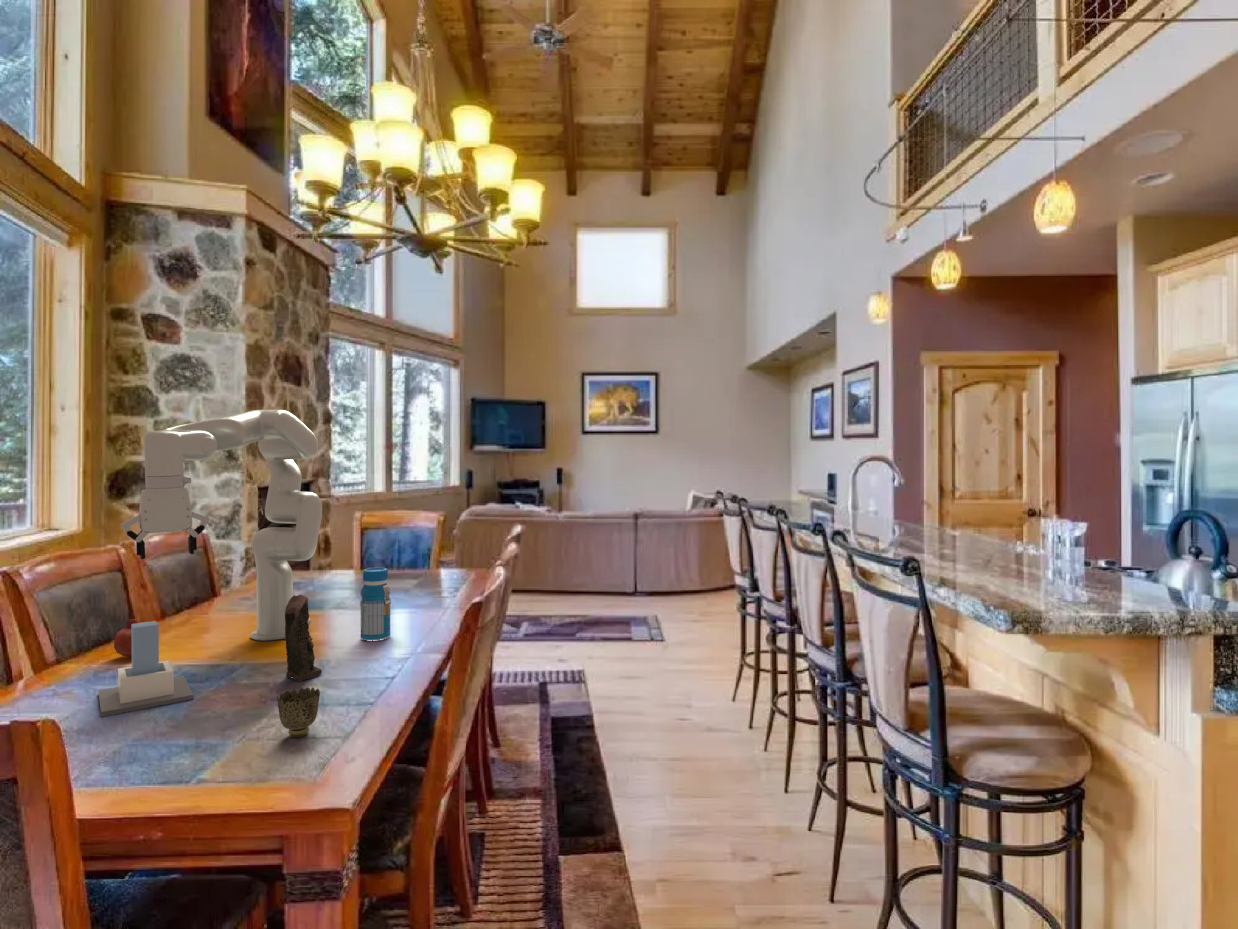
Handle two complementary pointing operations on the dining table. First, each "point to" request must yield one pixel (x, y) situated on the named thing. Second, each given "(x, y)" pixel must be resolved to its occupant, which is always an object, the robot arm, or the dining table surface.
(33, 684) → the dining table surface
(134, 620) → the fruit
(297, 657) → the statue
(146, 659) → the post
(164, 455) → the robot arm
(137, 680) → the well
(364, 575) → the beverage bottle
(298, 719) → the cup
